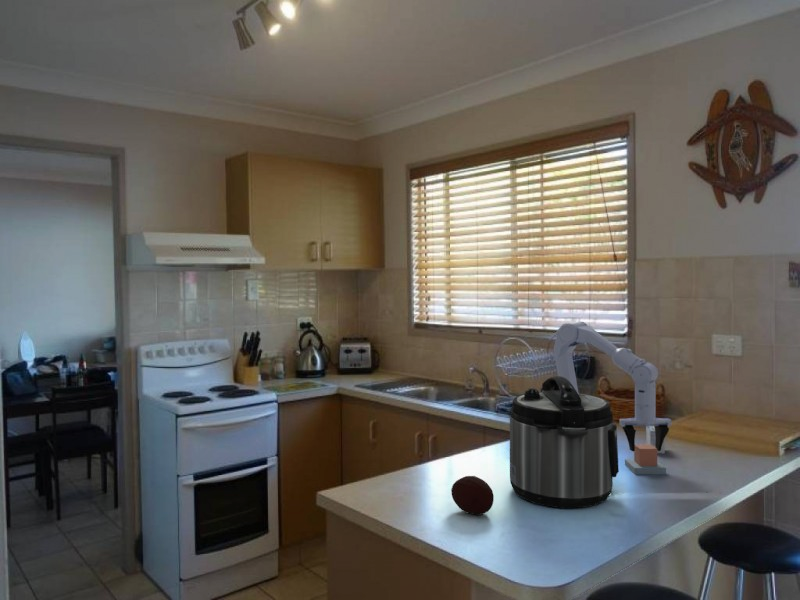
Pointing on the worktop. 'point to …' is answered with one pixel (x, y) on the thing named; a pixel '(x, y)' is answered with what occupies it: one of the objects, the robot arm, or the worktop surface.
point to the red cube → (645, 455)
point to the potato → (472, 495)
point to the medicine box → (653, 438)
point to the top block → (644, 468)
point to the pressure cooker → (562, 446)
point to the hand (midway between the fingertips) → (645, 450)
